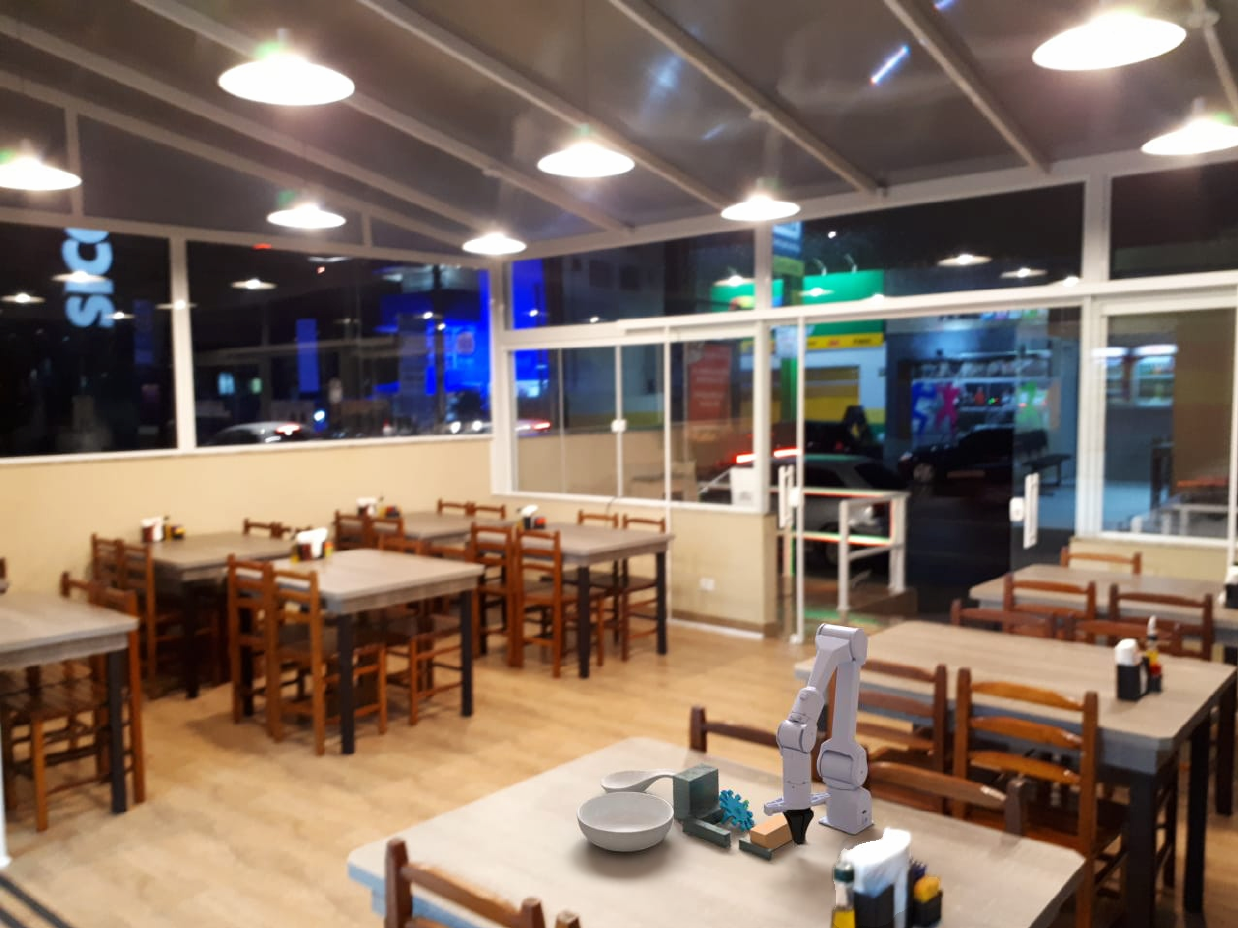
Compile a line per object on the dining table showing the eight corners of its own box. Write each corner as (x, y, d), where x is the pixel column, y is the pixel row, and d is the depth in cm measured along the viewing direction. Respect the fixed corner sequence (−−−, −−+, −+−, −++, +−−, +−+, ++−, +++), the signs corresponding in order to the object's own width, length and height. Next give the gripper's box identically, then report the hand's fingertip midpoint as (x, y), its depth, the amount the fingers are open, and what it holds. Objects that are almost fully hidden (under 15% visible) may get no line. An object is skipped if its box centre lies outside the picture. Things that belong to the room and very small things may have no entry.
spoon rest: (593, 800, 228) (592, 771, 227) (612, 782, 239) (611, 754, 238) (688, 813, 219) (687, 783, 219) (703, 793, 230) (702, 764, 230)
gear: (742, 832, 204) (715, 792, 209) (724, 848, 207) (697, 807, 211) (765, 820, 213) (738, 782, 218) (747, 835, 216) (721, 797, 220)
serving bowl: (667, 867, 194) (666, 834, 193) (567, 860, 198) (566, 828, 197) (680, 823, 214) (680, 793, 214) (590, 817, 218) (589, 788, 218)
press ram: (794, 837, 204) (793, 819, 204) (765, 853, 197) (765, 835, 197) (779, 832, 207) (778, 814, 207) (750, 847, 200) (749, 829, 200)
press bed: (805, 839, 204) (804, 794, 203) (762, 864, 194) (761, 816, 193) (706, 803, 224) (705, 761, 223) (663, 823, 214) (661, 779, 213)
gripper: (817, 766, 203) (818, 828, 203) (756, 777, 198) (757, 840, 199) (835, 778, 196) (836, 842, 197) (772, 789, 191) (773, 855, 192)
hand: (798, 842), depth 197 cm, fingers closed
